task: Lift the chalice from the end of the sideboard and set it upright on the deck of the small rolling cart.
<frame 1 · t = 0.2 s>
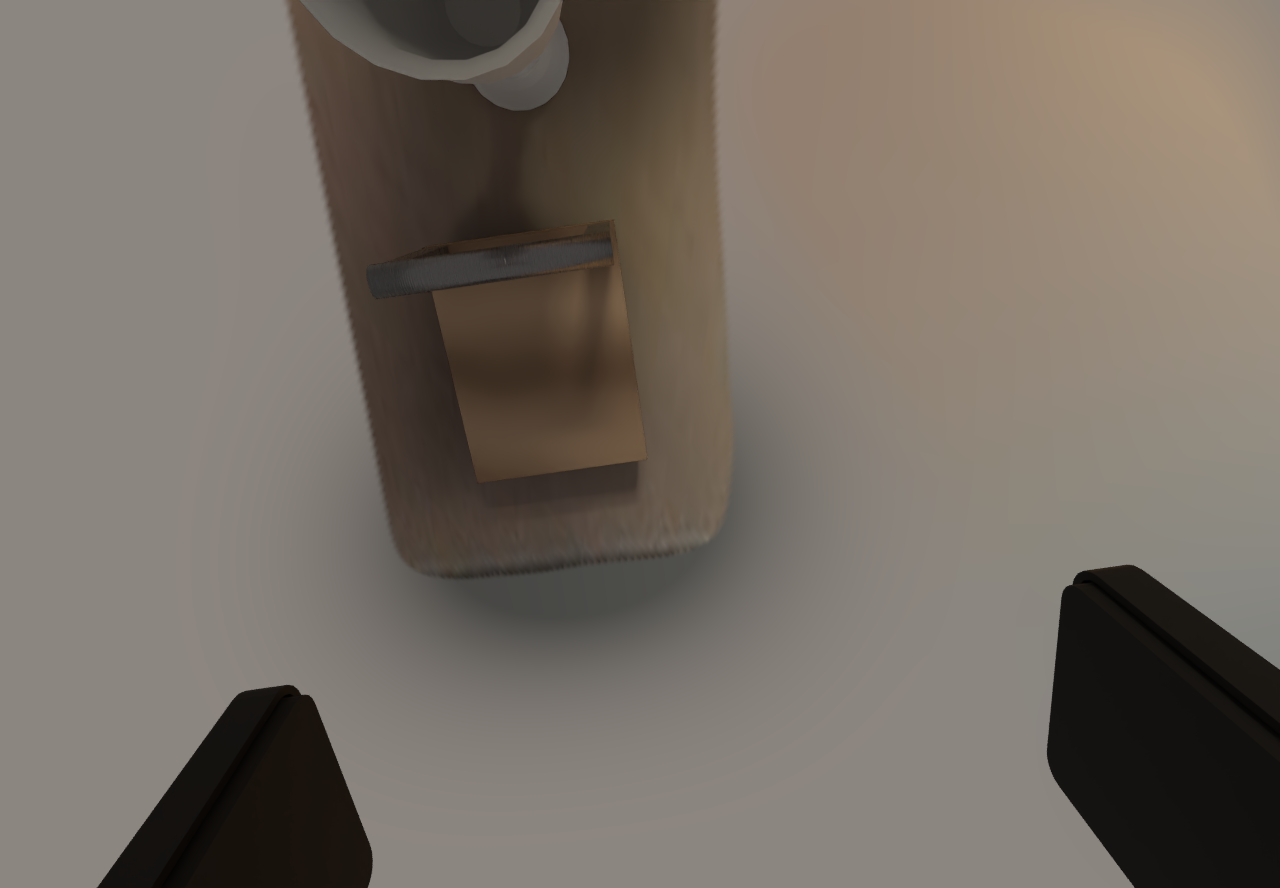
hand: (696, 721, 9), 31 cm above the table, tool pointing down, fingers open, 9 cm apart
chalice: (516, 52, 33), on the table
cart: (536, 371, 32), point 6 cm above the table, slide at 0.0 cm
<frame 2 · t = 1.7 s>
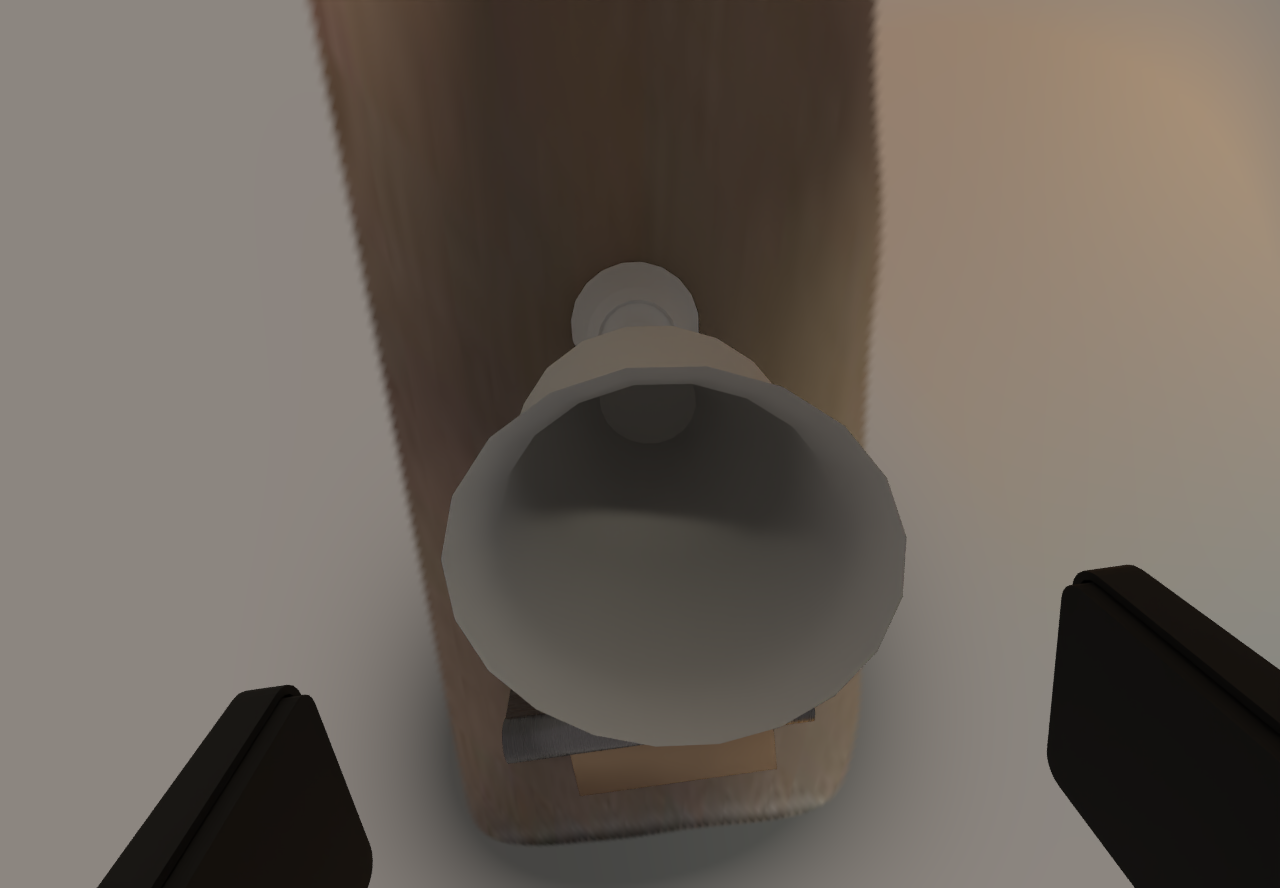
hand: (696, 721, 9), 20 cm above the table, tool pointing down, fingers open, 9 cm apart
chalice: (635, 325, 28), on the table
cart: (665, 718, 27), point 6 cm above the table, slide at 0.0 cm
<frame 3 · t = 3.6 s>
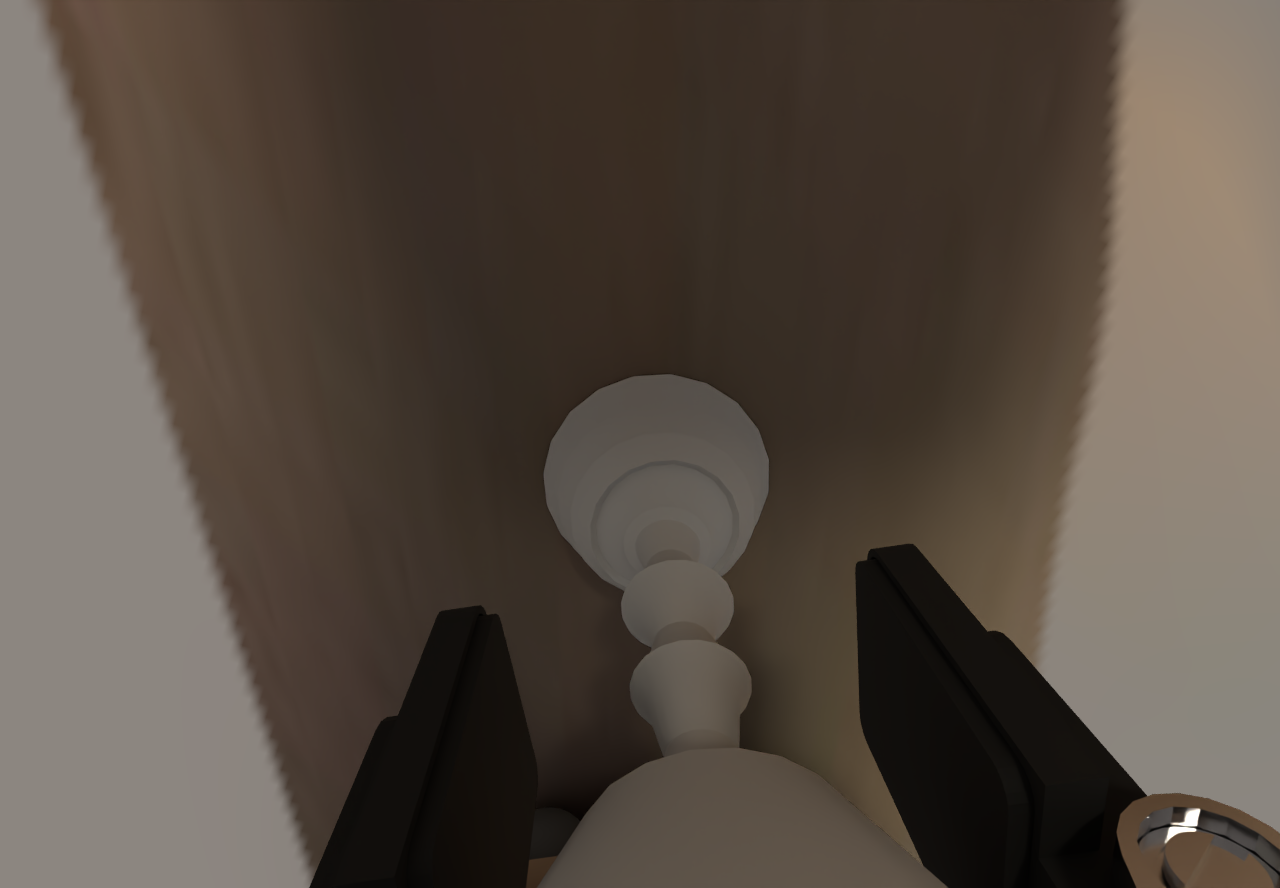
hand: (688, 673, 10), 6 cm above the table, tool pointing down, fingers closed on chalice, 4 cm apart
chalice: (656, 479, 16), on the table, touching gripper
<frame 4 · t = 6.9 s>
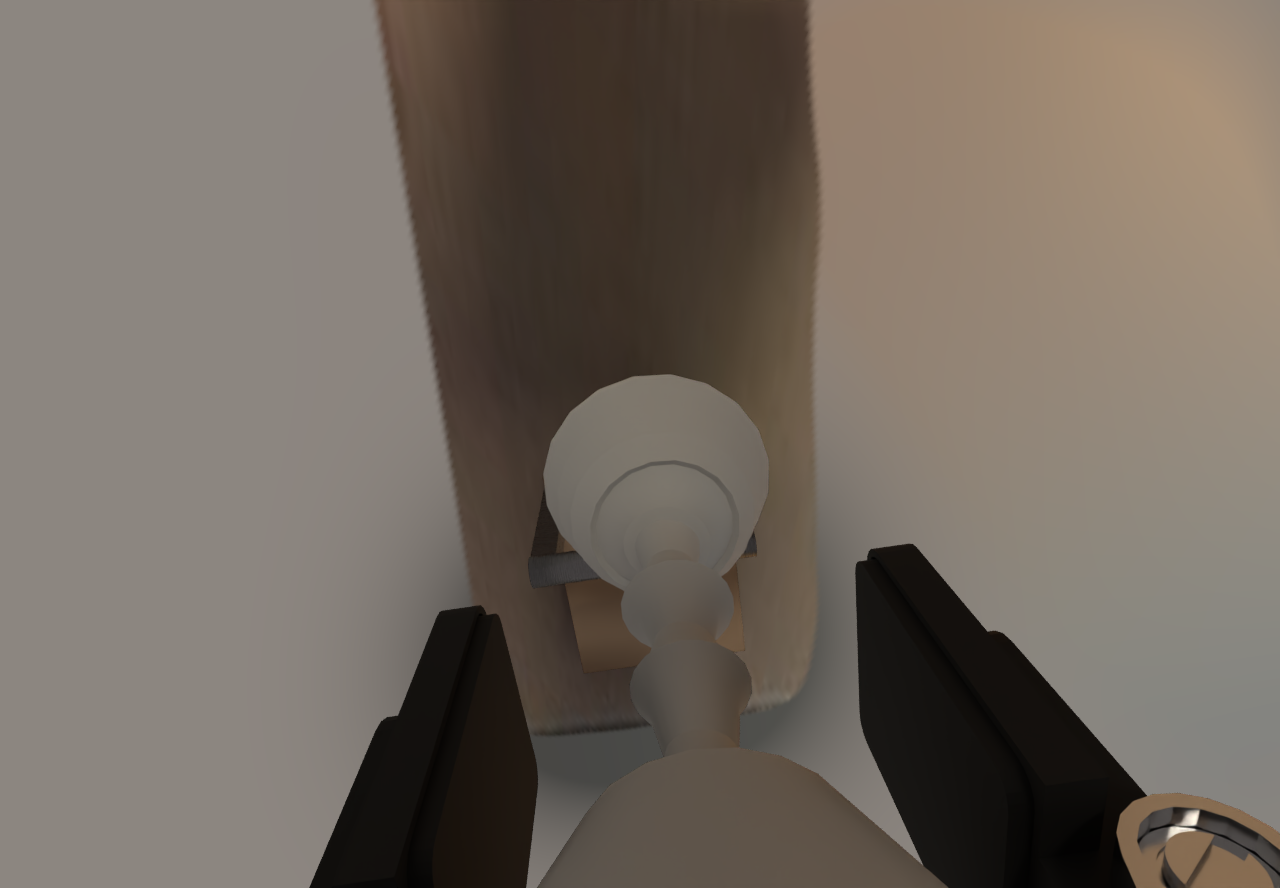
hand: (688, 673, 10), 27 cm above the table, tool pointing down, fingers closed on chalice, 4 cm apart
chalice: (656, 479, 16), point 21 cm above the table, touching gripper
cart: (652, 593, 34), point 6 cm above the table, slide at 0.0 cm
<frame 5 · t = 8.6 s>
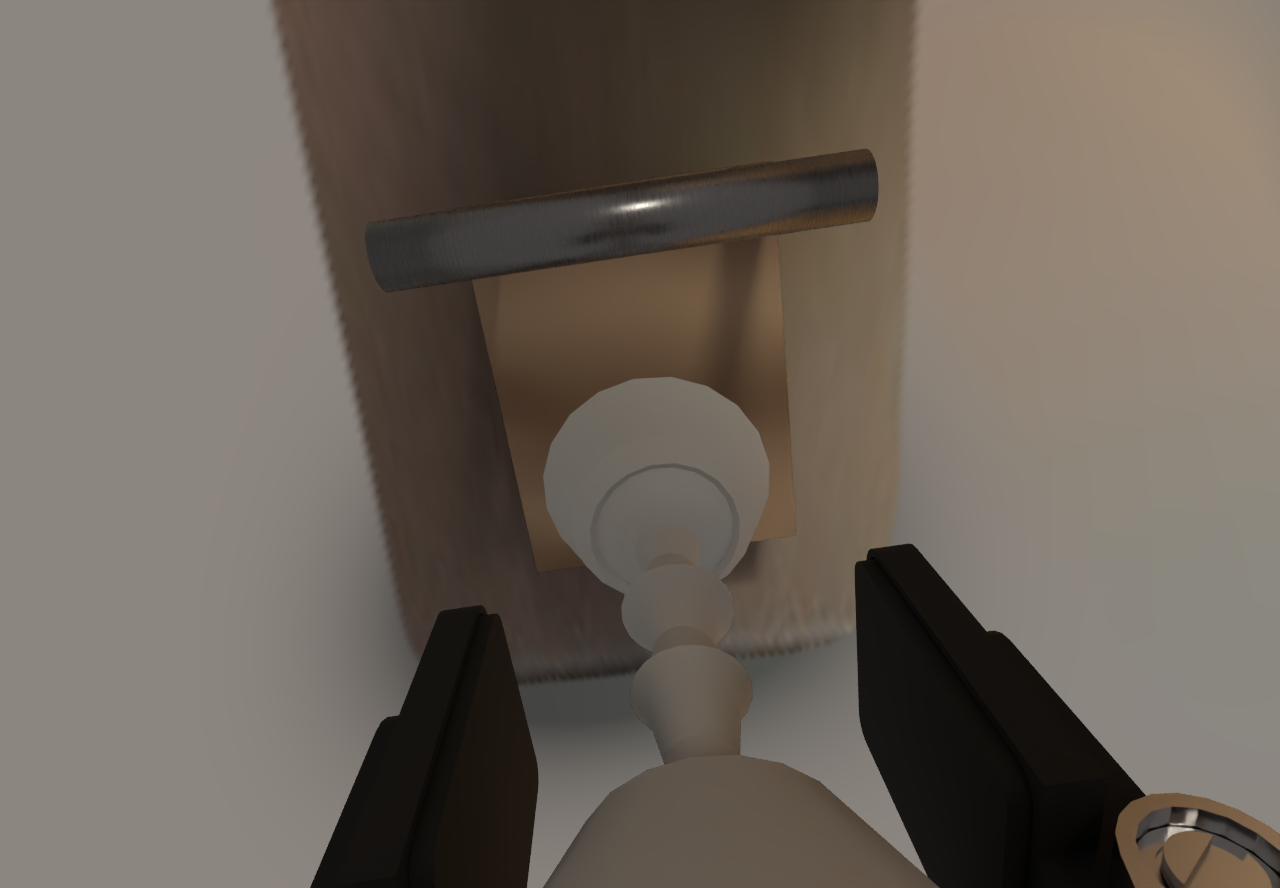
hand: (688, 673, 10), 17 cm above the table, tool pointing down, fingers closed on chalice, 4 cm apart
chalice: (656, 482, 16), point 10 cm above the table, touching gripper
cart: (646, 410, 19), point 6 cm above the table, slide at 0.0 cm
when the fingers open (11 cm above the table, at t = 10.1 s): chalice stays where it is, resting on cart.
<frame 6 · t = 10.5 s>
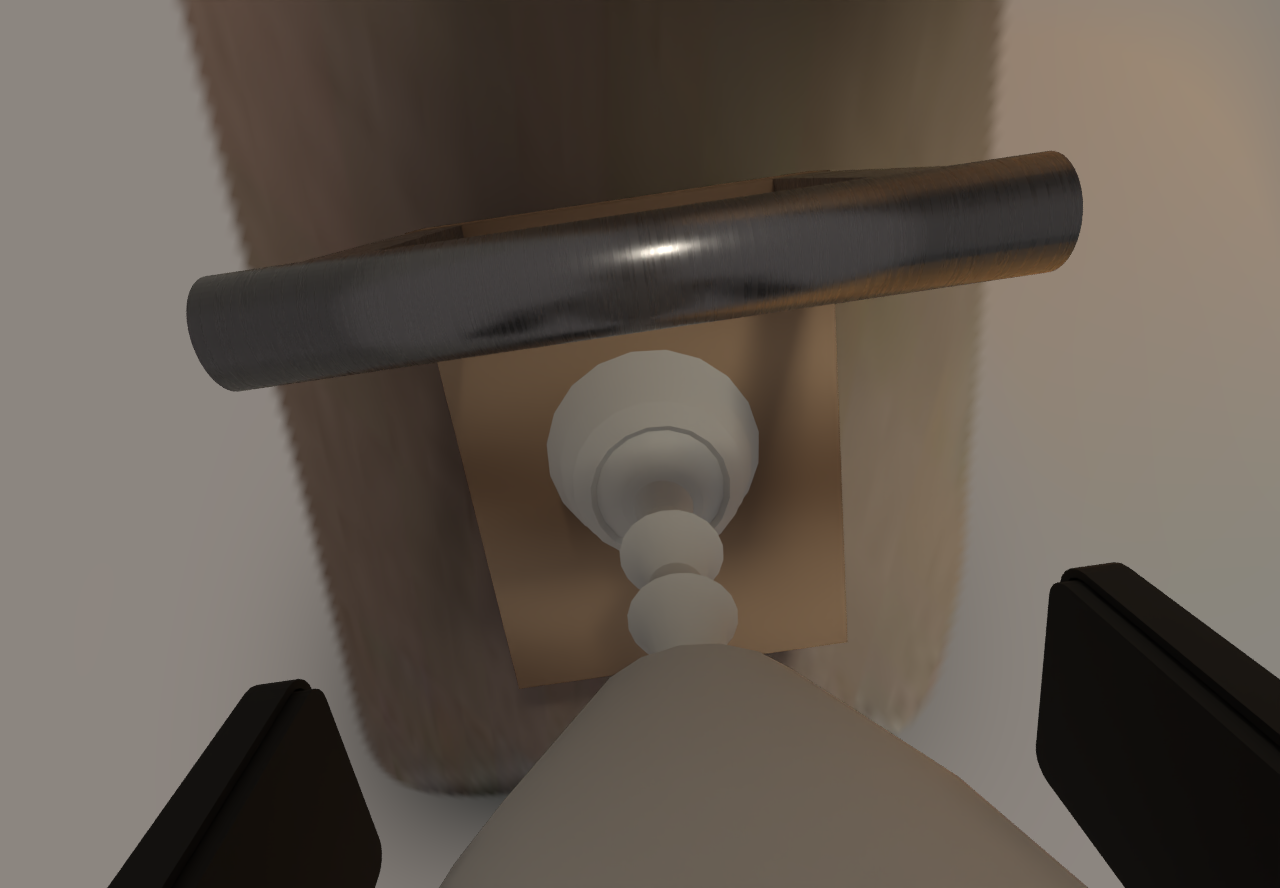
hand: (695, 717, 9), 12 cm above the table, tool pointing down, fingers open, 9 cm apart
chalice: (653, 450, 17), point 4 cm above the table, touching cart
cart: (660, 504, 14), point 6 cm above the table, slide at 0.0 cm, touching chalice
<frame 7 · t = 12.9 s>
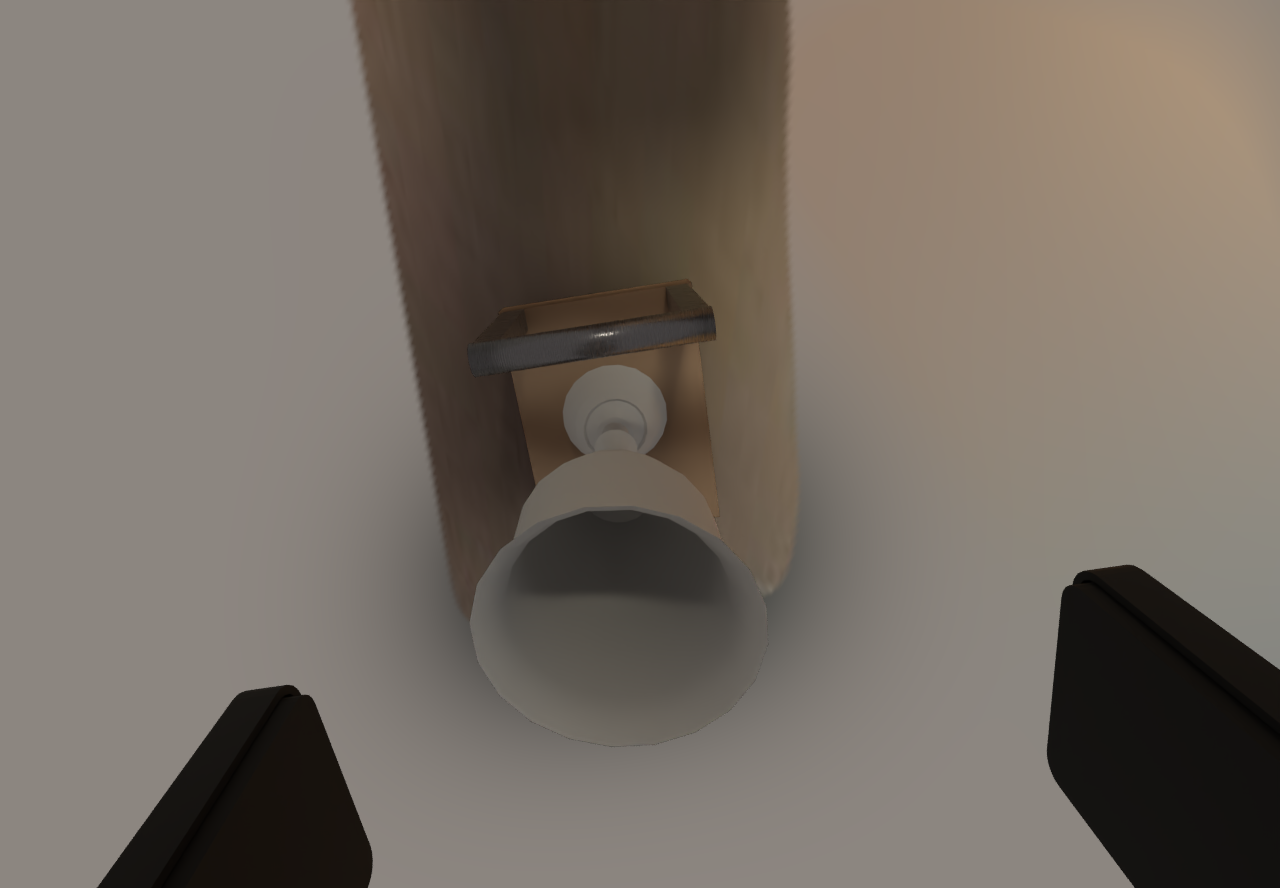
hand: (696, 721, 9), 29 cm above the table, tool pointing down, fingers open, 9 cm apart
chalice: (615, 414, 34), point 4 cm above the table, touching cart
cart: (615, 434, 32), point 6 cm above the table, slide at 0.0 cm, touching chalice
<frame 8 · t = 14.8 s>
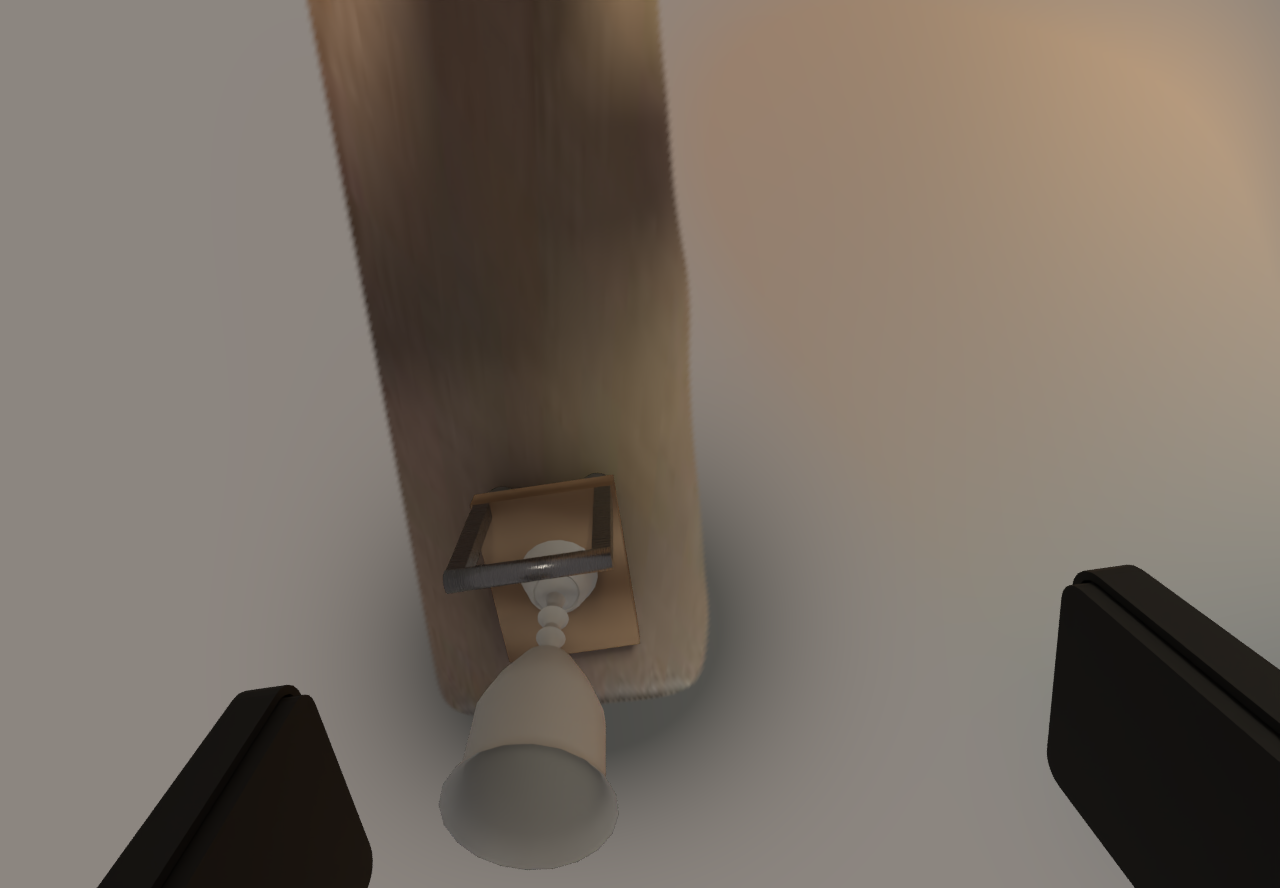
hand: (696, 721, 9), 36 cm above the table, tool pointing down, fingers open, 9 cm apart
chalice: (558, 572, 45), point 4 cm above the table, touching cart
cart: (556, 597, 43), point 6 cm above the table, slide at 0.0 cm, touching chalice
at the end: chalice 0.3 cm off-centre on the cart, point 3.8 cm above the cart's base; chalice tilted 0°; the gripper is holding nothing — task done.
